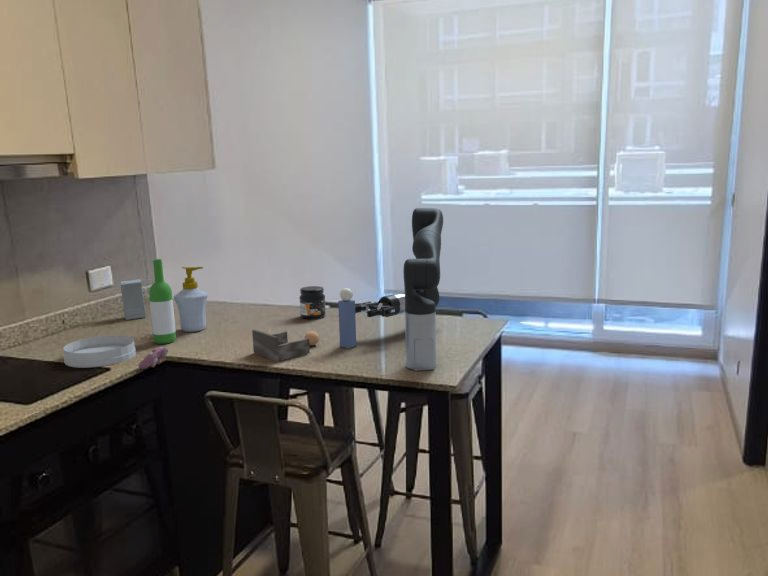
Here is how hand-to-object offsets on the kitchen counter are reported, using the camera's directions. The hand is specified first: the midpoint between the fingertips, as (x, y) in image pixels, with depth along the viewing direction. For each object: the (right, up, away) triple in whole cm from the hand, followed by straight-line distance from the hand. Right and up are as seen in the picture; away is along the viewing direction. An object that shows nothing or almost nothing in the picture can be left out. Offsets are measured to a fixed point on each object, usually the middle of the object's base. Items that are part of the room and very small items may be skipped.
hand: (359, 312), depth 222 cm
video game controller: (-65, -17, -17) cm, 69 cm away
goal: (-25, -13, -7) cm, 30 cm away
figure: (-4, -12, -2) cm, 12 cm away
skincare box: (-97, -4, +49) cm, 109 cm away
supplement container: (-21, -4, +43) cm, 48 cm away
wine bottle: (-71, -11, +10) cm, 72 cm away
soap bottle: (-65, -8, +26) cm, 71 cm away
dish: (-86, -15, -7) cm, 88 cm away
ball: (-17, -12, 0) cm, 20 cm away
